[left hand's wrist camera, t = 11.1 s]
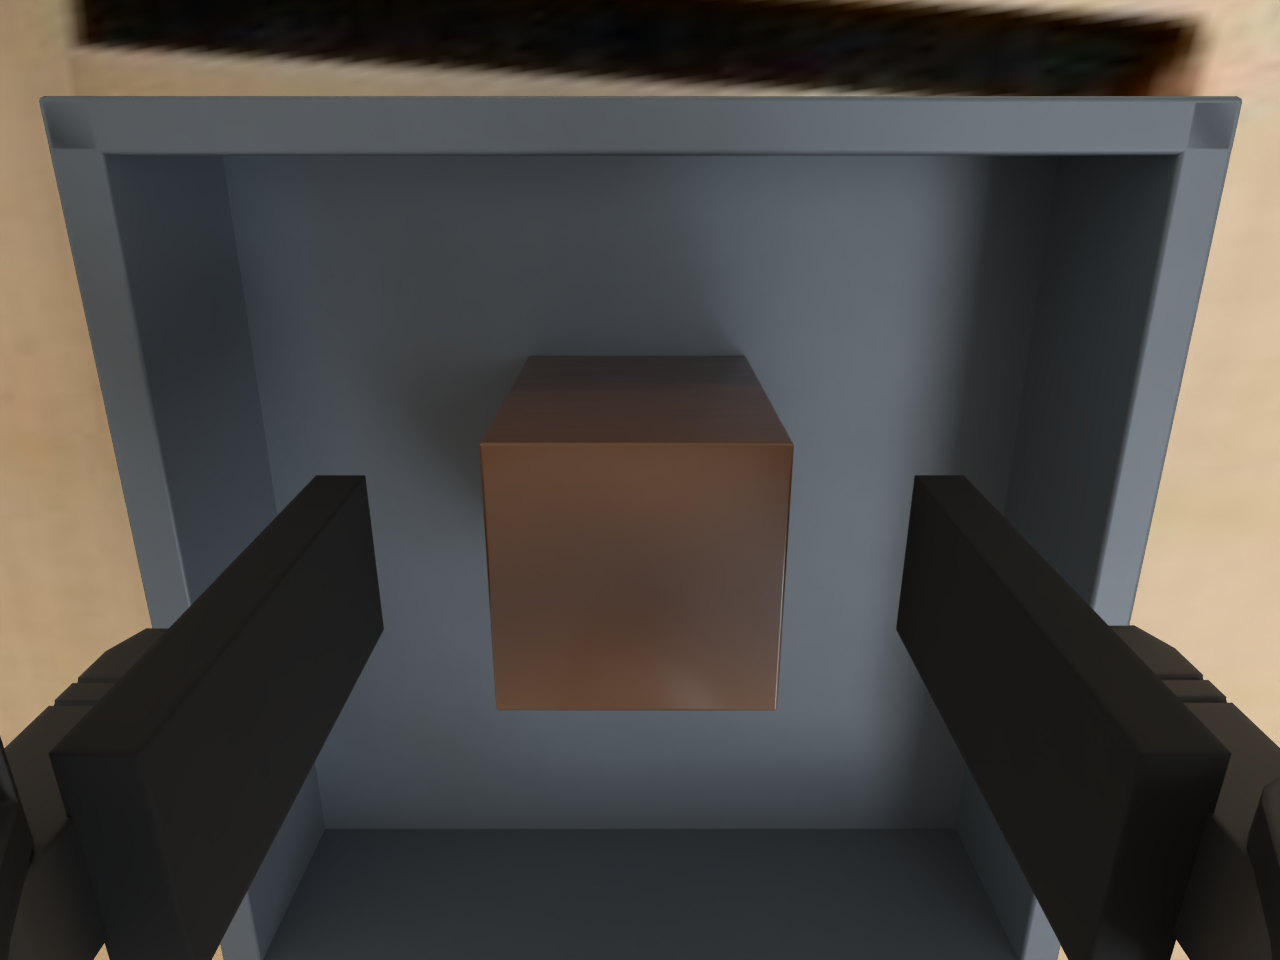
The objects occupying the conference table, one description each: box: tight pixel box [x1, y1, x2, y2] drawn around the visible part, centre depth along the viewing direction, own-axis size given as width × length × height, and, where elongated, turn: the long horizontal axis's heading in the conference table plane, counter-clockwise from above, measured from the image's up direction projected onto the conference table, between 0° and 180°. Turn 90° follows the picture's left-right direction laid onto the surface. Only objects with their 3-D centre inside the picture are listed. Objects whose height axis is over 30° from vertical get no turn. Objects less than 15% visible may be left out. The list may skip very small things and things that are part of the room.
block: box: [479, 356, 794, 711], centre depth 16 cm, size 4×4×6 cm
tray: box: [39, 96, 1242, 960], centre depth 18 cm, size 31×18×10 cm, turn 0°
